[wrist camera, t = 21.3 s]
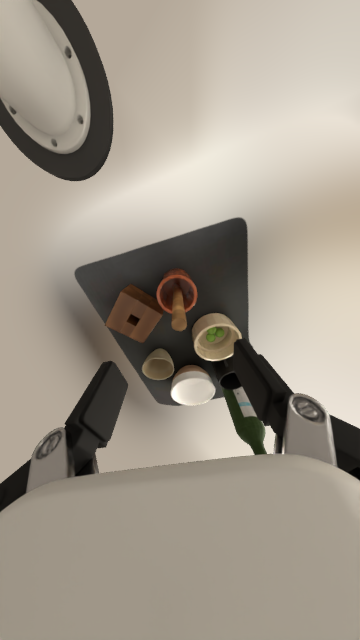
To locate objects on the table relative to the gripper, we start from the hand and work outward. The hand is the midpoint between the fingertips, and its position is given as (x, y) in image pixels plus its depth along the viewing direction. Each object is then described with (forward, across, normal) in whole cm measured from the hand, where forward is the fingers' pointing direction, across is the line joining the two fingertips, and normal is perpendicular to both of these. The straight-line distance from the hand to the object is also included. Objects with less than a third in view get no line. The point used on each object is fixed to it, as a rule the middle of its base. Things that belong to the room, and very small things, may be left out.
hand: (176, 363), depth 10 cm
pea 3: (+25, -11, +17) cm, 33 cm away
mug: (+28, -12, +31) cm, 43 cm away
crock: (+28, 0, +1) cm, 28 cm away
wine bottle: (+27, -14, +41) cm, 51 cm away
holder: (+28, +12, +6) cm, 31 cm away
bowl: (+28, +1, +38) cm, 47 cm away
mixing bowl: (+28, -9, +18) cm, 34 cm away
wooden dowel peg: (+27, 0, +1) cm, 27 cm away
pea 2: (+25, -8, +19) cm, 32 cm away
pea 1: (+25, -8, +16) cm, 31 cm away
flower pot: (+28, +10, +24) cm, 38 cm away
